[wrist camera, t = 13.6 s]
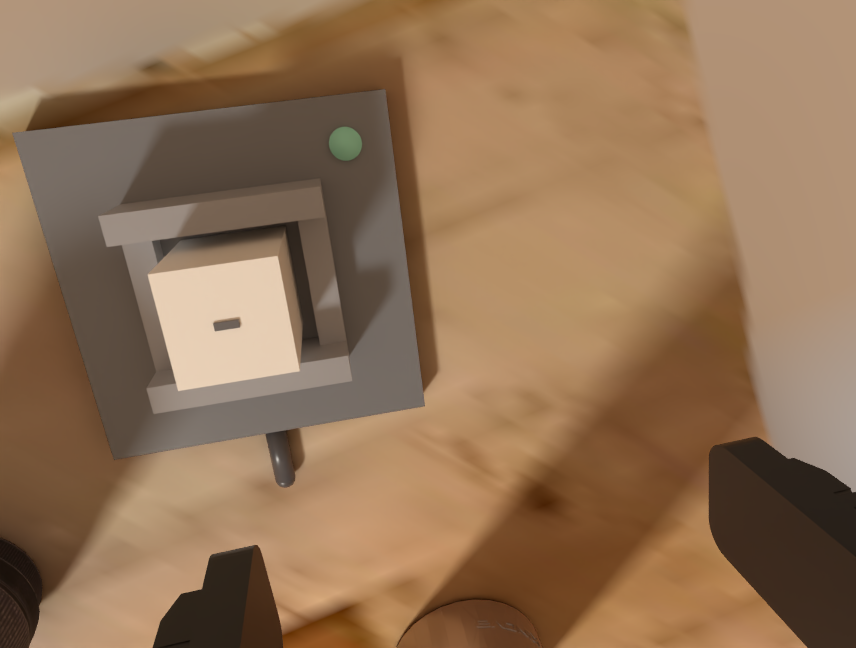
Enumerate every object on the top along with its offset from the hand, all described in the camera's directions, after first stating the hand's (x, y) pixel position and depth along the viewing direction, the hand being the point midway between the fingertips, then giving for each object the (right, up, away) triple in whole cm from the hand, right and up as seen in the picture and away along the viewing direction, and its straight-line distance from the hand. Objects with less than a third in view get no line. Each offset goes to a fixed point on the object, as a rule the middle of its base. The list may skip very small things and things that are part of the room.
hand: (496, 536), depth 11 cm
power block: (-9, +4, +20) cm, 22 cm away
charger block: (-9, +6, +18) cm, 21 cm away
